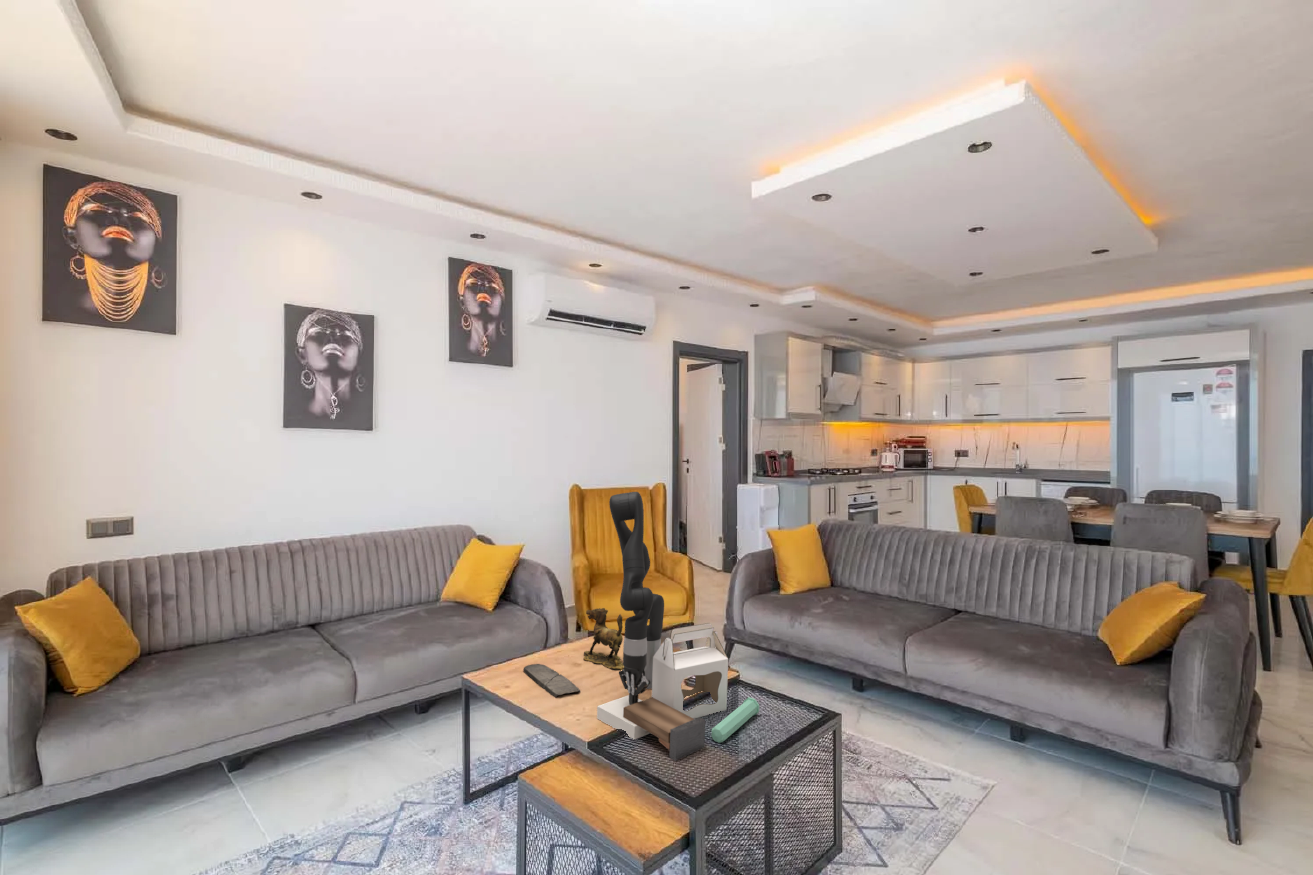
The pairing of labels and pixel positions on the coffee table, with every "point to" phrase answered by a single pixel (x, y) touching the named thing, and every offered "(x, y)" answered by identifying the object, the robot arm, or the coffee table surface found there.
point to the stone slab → (550, 680)
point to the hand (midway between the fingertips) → (633, 704)
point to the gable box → (691, 670)
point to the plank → (655, 717)
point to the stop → (687, 738)
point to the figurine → (605, 641)
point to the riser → (619, 717)
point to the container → (735, 720)
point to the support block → (665, 744)
